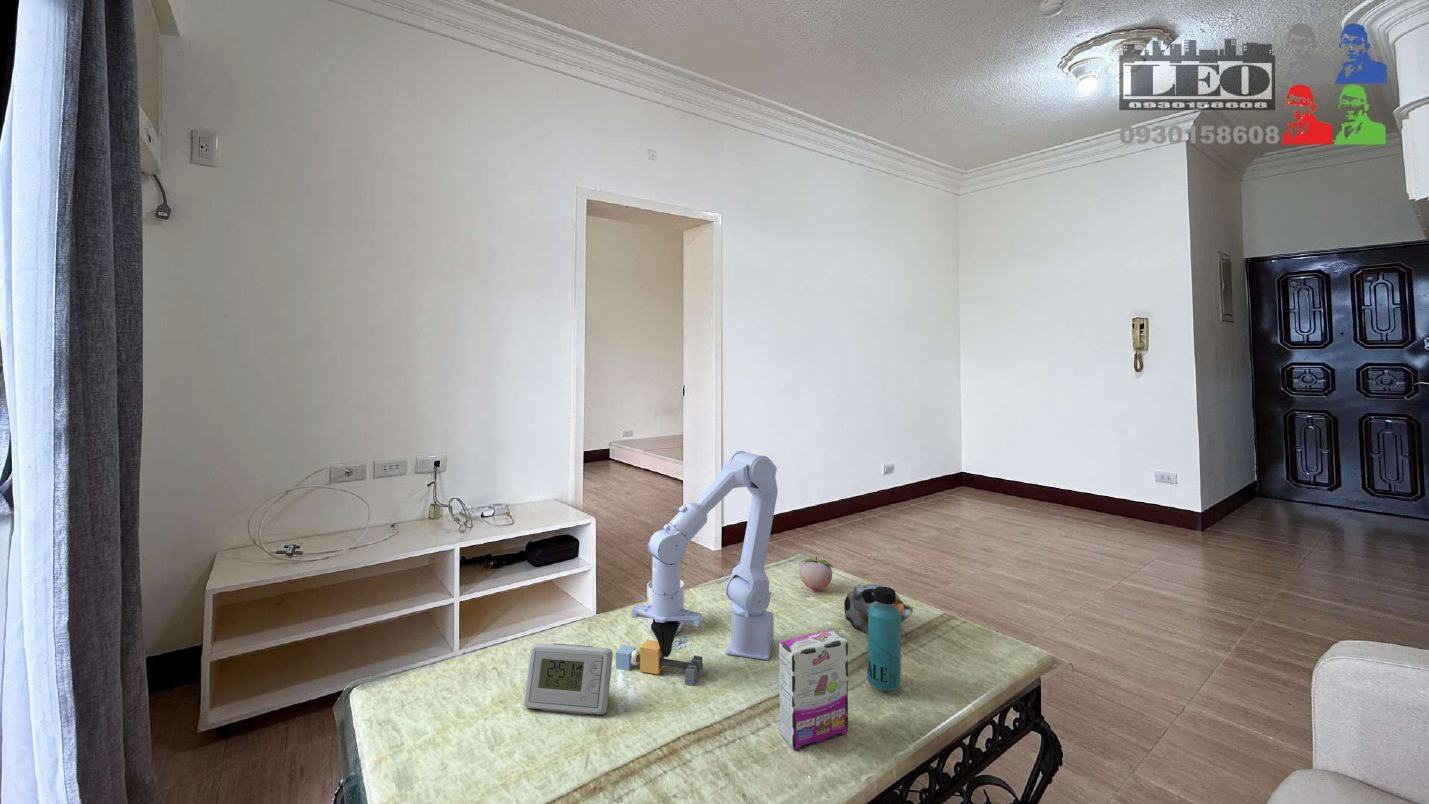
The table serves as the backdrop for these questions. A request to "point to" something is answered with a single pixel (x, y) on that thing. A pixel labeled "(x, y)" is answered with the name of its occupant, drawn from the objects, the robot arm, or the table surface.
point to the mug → (649, 602)
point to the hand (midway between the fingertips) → (666, 654)
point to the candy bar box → (813, 688)
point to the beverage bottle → (884, 641)
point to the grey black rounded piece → (867, 606)
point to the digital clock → (568, 678)
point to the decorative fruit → (816, 573)
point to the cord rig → (660, 663)
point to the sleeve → (650, 657)
